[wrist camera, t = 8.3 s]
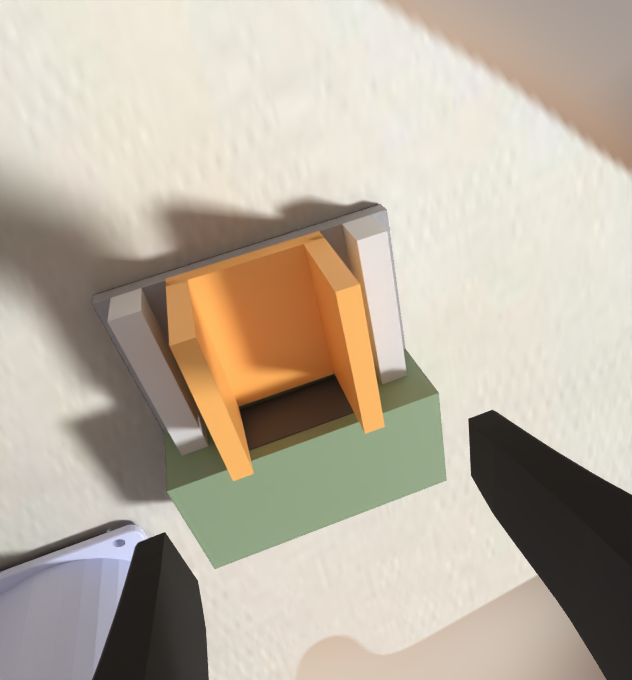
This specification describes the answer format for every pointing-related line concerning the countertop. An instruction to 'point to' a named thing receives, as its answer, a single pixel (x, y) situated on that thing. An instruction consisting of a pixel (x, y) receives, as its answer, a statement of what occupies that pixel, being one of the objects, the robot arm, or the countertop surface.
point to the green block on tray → (288, 414)
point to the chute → (270, 335)
